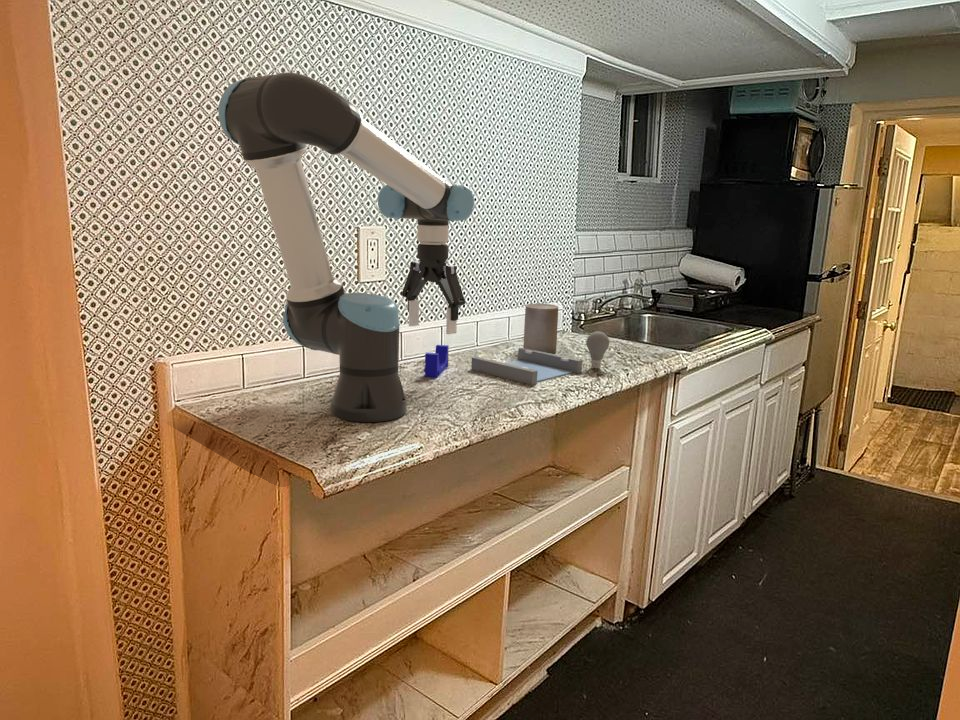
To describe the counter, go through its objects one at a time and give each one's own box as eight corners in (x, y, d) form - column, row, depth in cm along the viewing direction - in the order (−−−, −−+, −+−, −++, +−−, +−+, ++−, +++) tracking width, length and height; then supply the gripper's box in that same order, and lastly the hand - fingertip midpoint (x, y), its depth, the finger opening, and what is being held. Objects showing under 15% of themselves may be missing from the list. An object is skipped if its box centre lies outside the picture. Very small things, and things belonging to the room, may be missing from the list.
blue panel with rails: (532, 384, 163) (532, 371, 162) (471, 369, 176) (471, 357, 175) (581, 372, 177) (582, 360, 177) (522, 358, 191) (522, 347, 190)
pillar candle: (551, 348, 206) (553, 299, 203) (559, 355, 197) (562, 303, 194) (519, 348, 205) (522, 298, 202) (526, 355, 196) (529, 303, 192)
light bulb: (589, 371, 179) (591, 333, 177) (581, 365, 185) (583, 329, 182) (610, 370, 180) (613, 333, 178) (602, 365, 186) (605, 329, 184)
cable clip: (431, 366, 178) (431, 344, 177) (448, 368, 177) (448, 345, 176) (418, 377, 167) (419, 353, 165) (436, 378, 166) (437, 354, 165)
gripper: (481, 246, 160) (479, 335, 164) (410, 239, 176) (410, 321, 181) (458, 247, 154) (457, 339, 159) (387, 240, 171) (388, 324, 175)
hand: (432, 329), depth 170 cm, fingers open, 13 cm apart
